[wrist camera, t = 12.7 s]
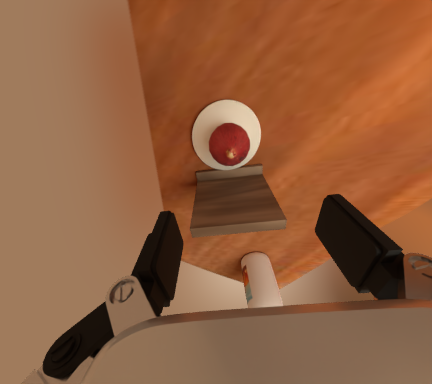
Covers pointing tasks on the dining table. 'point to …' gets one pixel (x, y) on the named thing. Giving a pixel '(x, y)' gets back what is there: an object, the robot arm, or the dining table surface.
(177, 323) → the robot arm
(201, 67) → the dining table surface
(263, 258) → the milk bottle
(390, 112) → the dining table surface
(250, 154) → the coaster
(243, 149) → the onion
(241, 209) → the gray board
